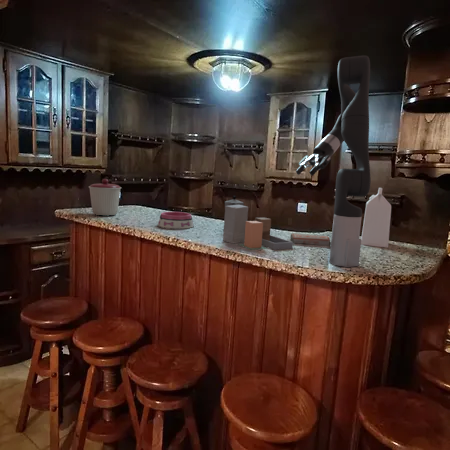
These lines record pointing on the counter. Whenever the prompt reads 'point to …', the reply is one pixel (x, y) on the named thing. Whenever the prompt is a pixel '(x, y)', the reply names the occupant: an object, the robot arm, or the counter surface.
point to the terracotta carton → (253, 234)
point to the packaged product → (310, 240)
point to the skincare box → (235, 223)
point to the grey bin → (277, 243)
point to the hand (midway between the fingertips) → (303, 173)
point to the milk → (376, 221)
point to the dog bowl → (175, 220)
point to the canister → (104, 198)
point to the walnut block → (265, 227)
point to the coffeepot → (233, 203)
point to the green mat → (252, 248)
